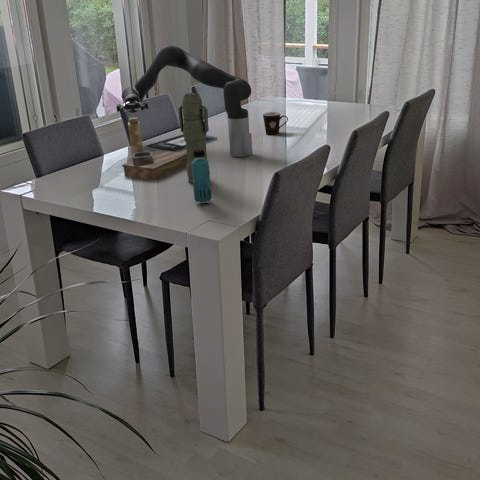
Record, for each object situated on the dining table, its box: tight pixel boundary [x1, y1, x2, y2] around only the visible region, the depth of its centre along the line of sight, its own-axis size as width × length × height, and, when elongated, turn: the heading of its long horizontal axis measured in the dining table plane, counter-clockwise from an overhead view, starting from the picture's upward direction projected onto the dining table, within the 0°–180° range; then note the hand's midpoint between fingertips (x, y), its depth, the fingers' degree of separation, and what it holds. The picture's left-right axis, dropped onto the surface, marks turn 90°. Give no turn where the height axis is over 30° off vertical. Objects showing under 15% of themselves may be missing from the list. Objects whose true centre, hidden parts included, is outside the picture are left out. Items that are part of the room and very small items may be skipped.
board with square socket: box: [121, 150, 188, 181], centre depth 291 cm, size 17×25×8 cm
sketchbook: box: [143, 133, 218, 152], centre depth 334 cm, size 22×30×2 cm
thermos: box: [178, 92, 211, 185], centre depth 267 cm, size 9×12×35 cm
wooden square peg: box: [127, 117, 144, 160], centre depth 302 cm, size 5×5×20 cm
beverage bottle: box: [191, 149, 213, 203], centre depth 244 cm, size 6×7×20 cm
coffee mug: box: [262, 111, 289, 136], centre depth 338 cm, size 12×9×10 cm
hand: (132, 109), depth 304 cm, fingers open, 8 cm apart
